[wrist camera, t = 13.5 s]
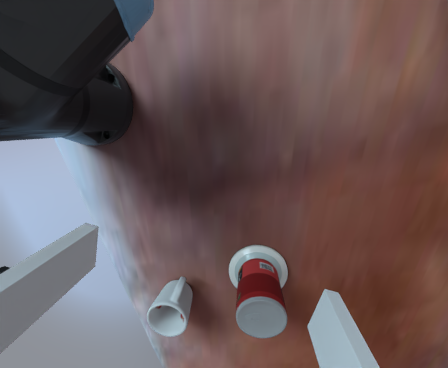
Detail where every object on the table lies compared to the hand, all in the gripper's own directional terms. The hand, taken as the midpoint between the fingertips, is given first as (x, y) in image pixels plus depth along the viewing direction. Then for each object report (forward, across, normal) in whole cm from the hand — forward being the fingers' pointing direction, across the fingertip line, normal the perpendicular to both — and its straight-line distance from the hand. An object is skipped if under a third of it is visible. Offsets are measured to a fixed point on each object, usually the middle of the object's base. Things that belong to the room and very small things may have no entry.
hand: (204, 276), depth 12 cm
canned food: (+28, +10, -19) cm, 35 cm away
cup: (+29, -5, -28) cm, 41 cm away
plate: (+29, +10, -19) cm, 36 cm away
